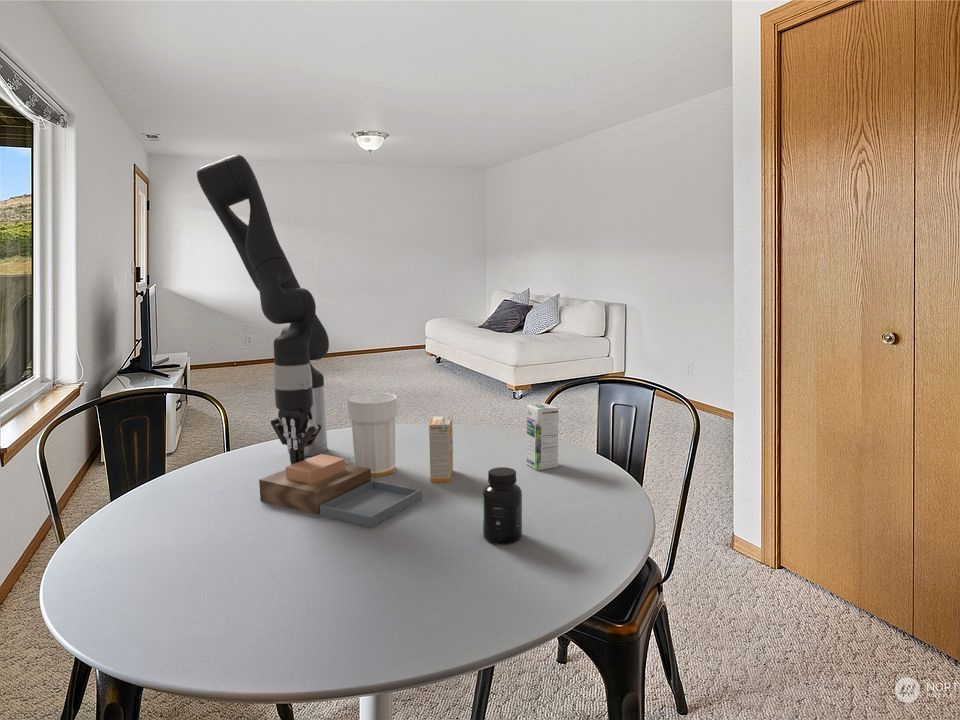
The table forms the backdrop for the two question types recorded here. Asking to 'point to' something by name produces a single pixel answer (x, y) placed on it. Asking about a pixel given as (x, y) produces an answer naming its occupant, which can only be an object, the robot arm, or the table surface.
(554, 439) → the syrup box
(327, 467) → the terracotta tile
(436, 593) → the table surface
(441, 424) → the supplement box
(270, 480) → the walnut platform
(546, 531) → the table surface
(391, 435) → the cup
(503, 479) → the supplement bottle
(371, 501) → the slate tray
